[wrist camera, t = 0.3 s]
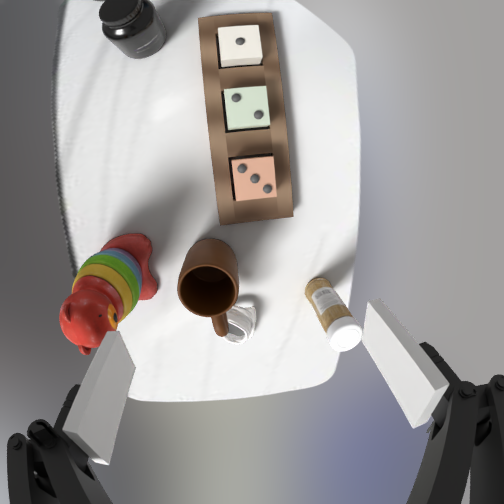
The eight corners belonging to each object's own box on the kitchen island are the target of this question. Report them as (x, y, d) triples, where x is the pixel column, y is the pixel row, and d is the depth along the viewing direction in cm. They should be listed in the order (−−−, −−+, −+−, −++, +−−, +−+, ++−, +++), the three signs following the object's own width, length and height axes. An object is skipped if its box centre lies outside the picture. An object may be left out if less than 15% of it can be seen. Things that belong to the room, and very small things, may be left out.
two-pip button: (224, 94, 31) (224, 88, 28) (262, 90, 31) (266, 85, 28) (228, 130, 33) (228, 128, 30) (266, 126, 33) (270, 124, 30)
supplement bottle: (156, 63, 30) (129, 33, 19) (116, 57, 28) (79, 31, 17) (175, 24, 28) (158, -15, 16) (134, 19, 26) (106, -16, 15)
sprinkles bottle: (304, 302, 45) (329, 356, 33) (304, 278, 43) (331, 328, 31) (330, 298, 45) (361, 348, 33) (331, 274, 44) (366, 321, 31)
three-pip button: (231, 159, 34) (231, 160, 31) (269, 156, 35) (273, 156, 32) (235, 197, 36) (236, 201, 33) (273, 192, 36) (277, 197, 34)
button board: (199, 23, 28) (198, 18, 26) (269, 18, 28) (271, 12, 27) (220, 221, 39) (220, 225, 37) (290, 213, 39) (293, 216, 37)
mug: (247, 302, 44) (252, 338, 35) (201, 311, 44) (196, 348, 35) (230, 231, 40) (232, 256, 31) (179, 242, 40) (167, 269, 31)
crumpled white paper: (254, 333, 48) (260, 352, 43) (216, 337, 47) (219, 357, 42) (255, 297, 44) (261, 315, 40) (213, 301, 43) (215, 320, 39)
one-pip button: (218, 36, 28) (217, 27, 25) (255, 33, 28) (258, 24, 25) (221, 67, 30) (221, 59, 27) (259, 64, 30) (262, 56, 27)
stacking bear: (159, 297, 42) (130, 376, 26) (104, 296, 42) (59, 366, 25) (151, 232, 39) (104, 291, 22) (92, 235, 38) (27, 288, 21)
